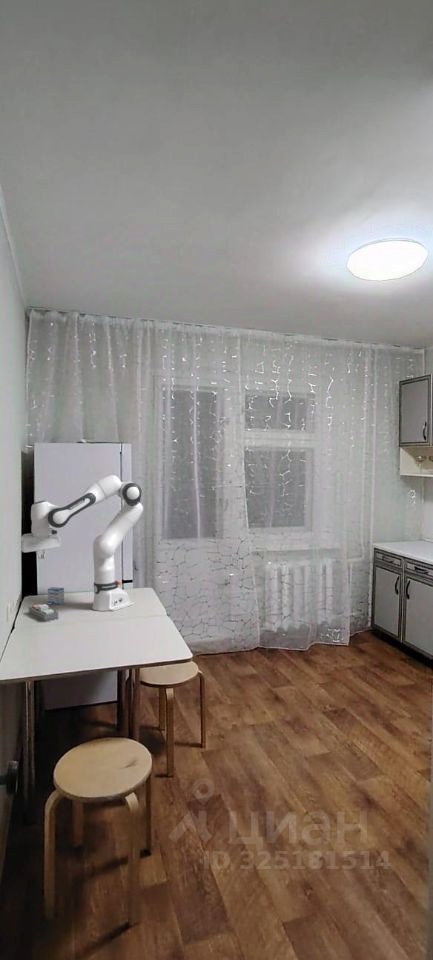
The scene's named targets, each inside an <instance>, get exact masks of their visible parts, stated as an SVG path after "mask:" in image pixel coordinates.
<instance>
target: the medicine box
mask: <svg viewBox="0 0 433 960" xmlns="http://www.w3.org/2000/svg"><path fill="white" fill-rule="evenodd" d="M48 603H51V604H50V605H56V604H60V605H62V603H63V604H64V603H65V588H64V587H55V586H54V587H53V586H52V587H48V588H47V604H48Z"/></svg>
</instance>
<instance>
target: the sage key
mask: <svg viewBox="0 0 433 960" xmlns="http://www.w3.org/2000/svg"><path fill="white" fill-rule="evenodd" d="M51 609H52V608H51ZM51 609H49V610H45V611H43V614H45V615H47V614H51V613H54V611H53V610H54V609H53V610H51Z"/></svg>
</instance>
